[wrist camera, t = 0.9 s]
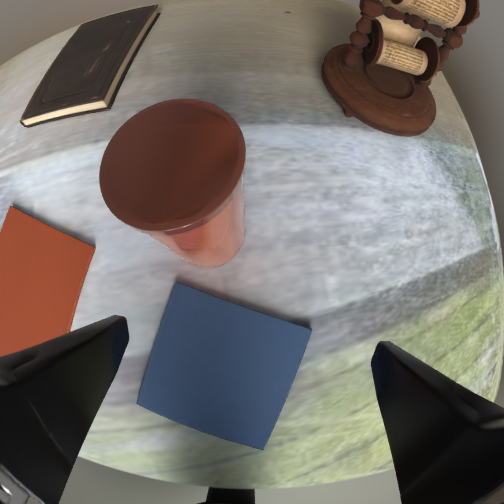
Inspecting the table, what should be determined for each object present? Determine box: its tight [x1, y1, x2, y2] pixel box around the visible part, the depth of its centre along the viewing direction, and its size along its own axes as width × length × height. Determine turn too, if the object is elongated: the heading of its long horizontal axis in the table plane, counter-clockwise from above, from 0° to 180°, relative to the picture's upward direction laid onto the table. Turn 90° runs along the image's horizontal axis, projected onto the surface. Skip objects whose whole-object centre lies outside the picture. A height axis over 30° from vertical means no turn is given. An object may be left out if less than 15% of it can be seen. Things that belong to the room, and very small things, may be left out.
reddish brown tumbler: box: [99, 99, 246, 268], centre depth 18 cm, size 7×7×13 cm
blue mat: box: [137, 282, 312, 450], centre depth 22 cm, size 12×12×1 cm
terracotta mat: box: [0, 206, 95, 356], centre depth 22 cm, size 18×16×1 cm
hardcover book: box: [20, 5, 160, 127], centre depth 28 cm, size 16×23×2 cm
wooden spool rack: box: [321, 0, 480, 136], centre depth 17 cm, size 15×15×20 cm
